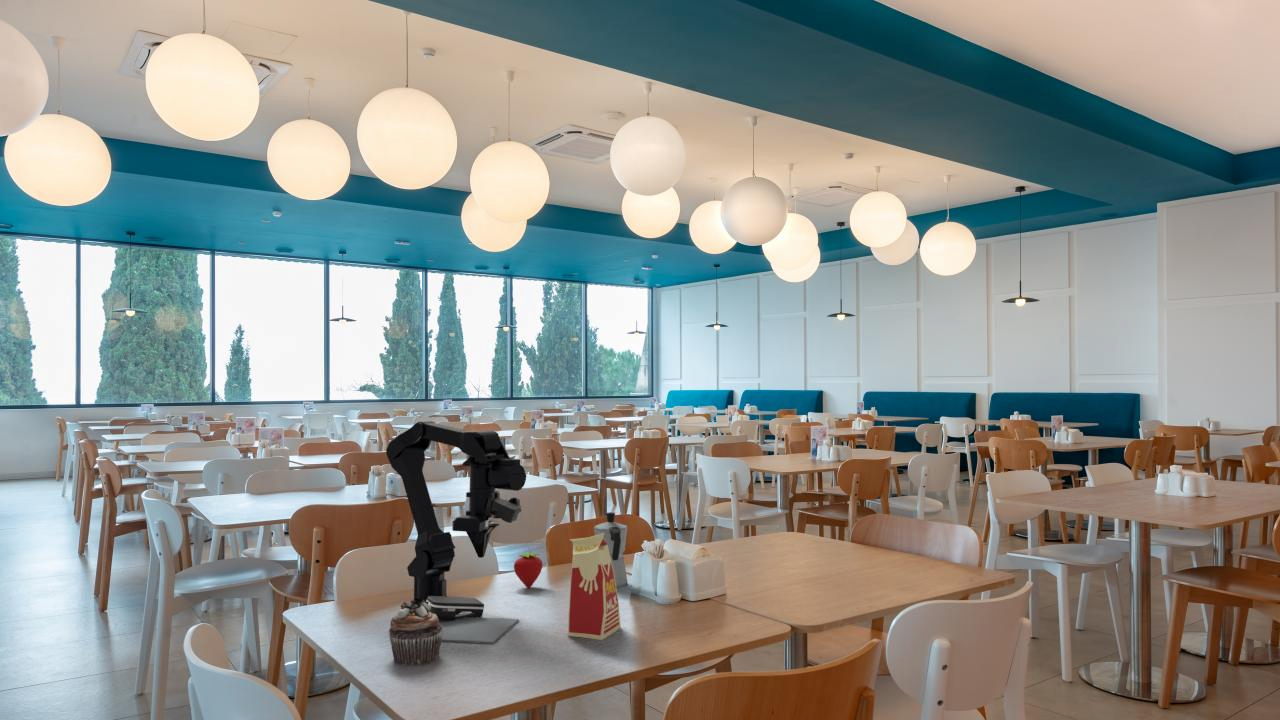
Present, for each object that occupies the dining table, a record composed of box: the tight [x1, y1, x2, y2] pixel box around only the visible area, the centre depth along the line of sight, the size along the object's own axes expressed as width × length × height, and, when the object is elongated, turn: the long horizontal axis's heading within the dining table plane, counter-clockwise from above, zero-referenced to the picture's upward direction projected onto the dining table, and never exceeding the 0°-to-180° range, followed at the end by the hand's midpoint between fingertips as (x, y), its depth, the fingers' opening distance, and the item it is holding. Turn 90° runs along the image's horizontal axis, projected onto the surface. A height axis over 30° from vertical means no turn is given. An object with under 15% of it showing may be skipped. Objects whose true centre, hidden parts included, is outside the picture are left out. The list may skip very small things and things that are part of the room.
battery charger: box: [426, 596, 485, 620], centre depth 173 cm, size 7×4×11 cm
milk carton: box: [567, 533, 622, 641], centre depth 164 cm, size 9×9×20 cm
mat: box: [439, 615, 520, 645], centre depth 165 cm, size 18×16×1 cm
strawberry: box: [513, 546, 544, 588], centre depth 201 cm, size 6×8×10 cm
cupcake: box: [388, 600, 444, 666], centre depth 148 cm, size 10×10×10 cm
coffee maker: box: [593, 511, 629, 588], centre depth 204 cm, size 15×9×18 cm, turn 14°
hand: (481, 557), depth 180 cm, fingers closed
